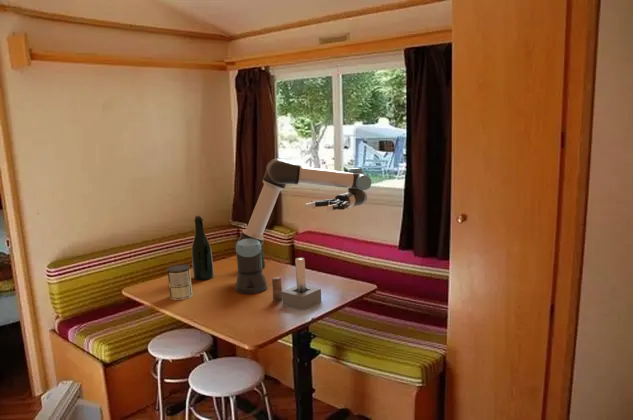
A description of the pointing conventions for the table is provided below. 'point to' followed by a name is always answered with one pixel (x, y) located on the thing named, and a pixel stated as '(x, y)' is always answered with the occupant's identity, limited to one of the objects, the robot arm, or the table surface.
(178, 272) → the coffee can
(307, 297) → the hole block
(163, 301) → the table surface
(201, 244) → the beer bottle
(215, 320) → the table surface
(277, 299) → the short walnut pin
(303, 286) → the long steel pin
